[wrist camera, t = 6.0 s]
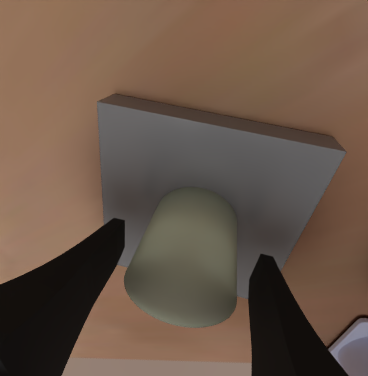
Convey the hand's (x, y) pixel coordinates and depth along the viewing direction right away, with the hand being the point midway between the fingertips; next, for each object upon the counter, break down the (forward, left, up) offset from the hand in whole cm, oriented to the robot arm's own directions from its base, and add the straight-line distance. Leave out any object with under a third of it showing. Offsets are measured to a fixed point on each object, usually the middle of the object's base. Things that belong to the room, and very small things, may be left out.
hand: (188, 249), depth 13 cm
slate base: (0, 0, -4) cm, 4 cm away
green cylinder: (0, 0, -2) cm, 2 cm away
